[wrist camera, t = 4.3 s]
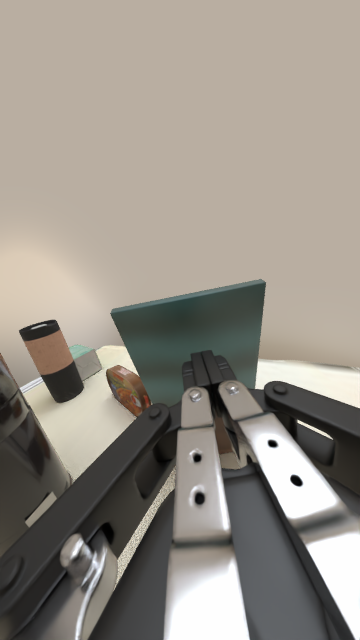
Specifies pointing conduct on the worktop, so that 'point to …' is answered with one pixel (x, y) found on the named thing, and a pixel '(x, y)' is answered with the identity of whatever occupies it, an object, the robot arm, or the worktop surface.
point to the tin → (128, 389)
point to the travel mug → (53, 359)
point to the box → (85, 360)
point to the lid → (193, 335)
